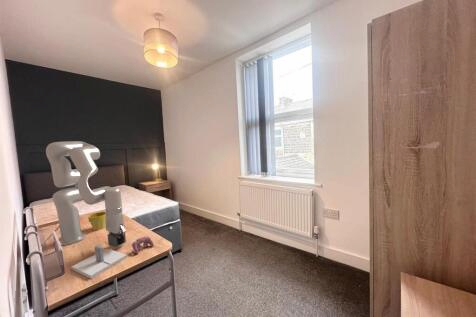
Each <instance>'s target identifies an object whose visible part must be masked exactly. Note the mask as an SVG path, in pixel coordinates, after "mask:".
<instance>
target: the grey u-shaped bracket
mask: <svg viewBox="0 0 476 317" xmlns="http://www.w3.org/2000/svg"><path fill="white" fill-rule="evenodd" d="M119 234H121V232H120V233H119ZM117 238H118V236H117V234H115V233H110V234H109V233H108V234H107V246H110V247H113V248H118V247H120V246H121V245H124V244H126V242H127V240H126V233H125V234H124V243H122V244H120V245H118V241H117Z"/></svg>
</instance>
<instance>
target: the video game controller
mask: <svg viewBox="0 0 476 317" xmlns="http://www.w3.org/2000/svg"><path fill="white" fill-rule="evenodd" d="M141 244H142V245H141ZM149 245H150V246H151V247H154V241H153V240H152V239H151V237H149V236H142V237H140V238H139V237H138V239H136V240H134V242H132V244H131V247H132V249H133V251H134V253H135V254H136V255H138V254H139V251H140V250H142V249H143V248H147V247H148V246H149Z"/></svg>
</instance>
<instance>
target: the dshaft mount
mask: <svg viewBox="0 0 476 317" xmlns="http://www.w3.org/2000/svg"><path fill="white" fill-rule="evenodd" d="M94 253H95V254H93V255H91V256H88V257H87V258H85V259H83V260H81V261H80V262H77V263H76V264H74V265H72V266H71V269H73V271H74V272H76V273H78V274H81V275H83V276H84V277H87V278H88V279H94V278H95V277H97V276H99V275H100V274H102V273H103V272H106V271H107V270H108V269H110V268H113V267H114V266H115V265H117V264H119V263H120V262H122V261H124V260H125V259H127V254H124V253H121V252H119V251H116V250H114V249H113V250H112V249H110V248H105V249H103V245H102V244H99V245H96V246H95V247H94Z"/></svg>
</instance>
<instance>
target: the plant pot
mask: <svg viewBox="0 0 476 317" xmlns="http://www.w3.org/2000/svg"><path fill="white" fill-rule="evenodd" d="M87 218H88V222H89V223H90V225H91V227H92V229H93V231H100V230H102V229H105V228H106V222H105V219H106V211H98V212H94V213H92V214H90V215H88V216H87Z"/></svg>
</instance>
